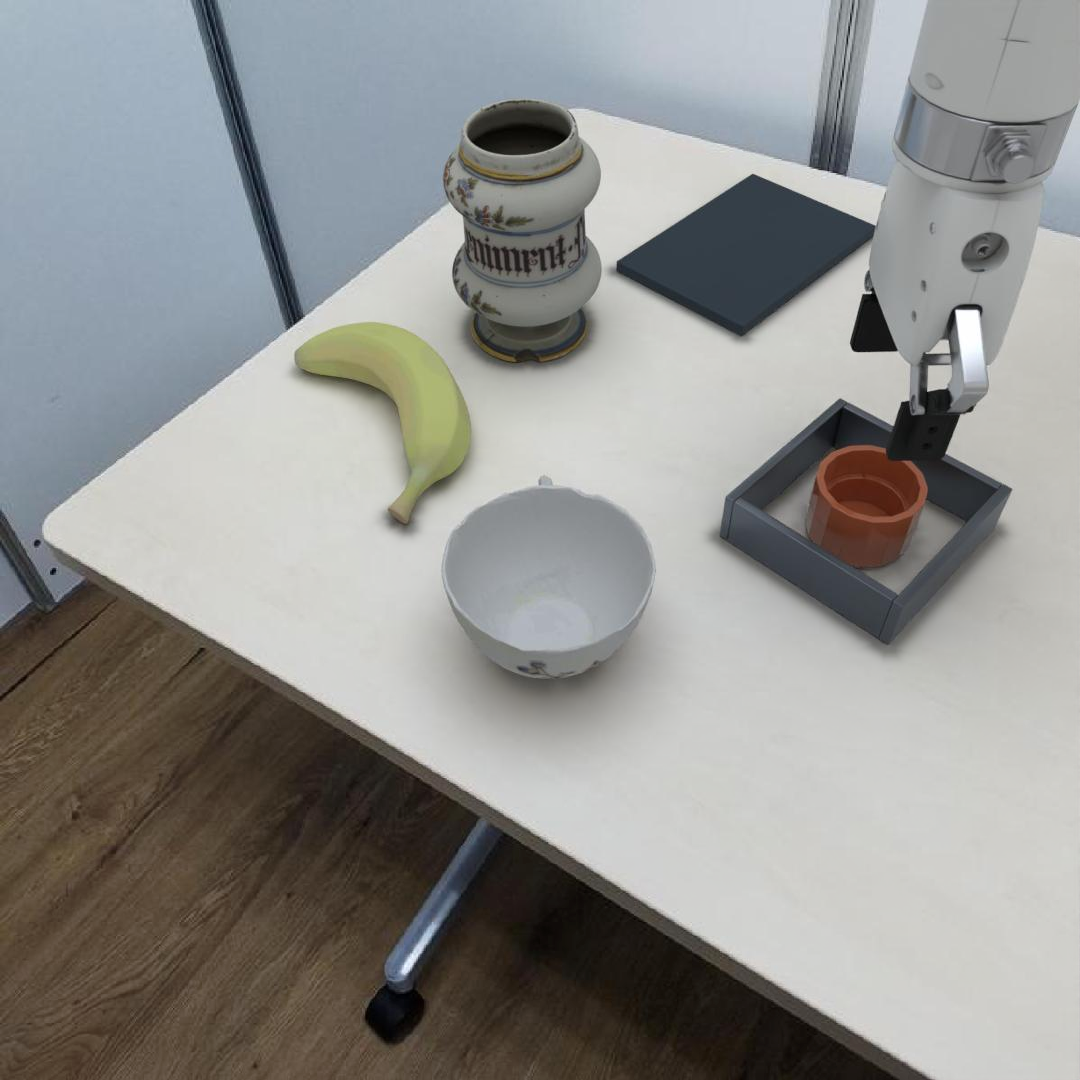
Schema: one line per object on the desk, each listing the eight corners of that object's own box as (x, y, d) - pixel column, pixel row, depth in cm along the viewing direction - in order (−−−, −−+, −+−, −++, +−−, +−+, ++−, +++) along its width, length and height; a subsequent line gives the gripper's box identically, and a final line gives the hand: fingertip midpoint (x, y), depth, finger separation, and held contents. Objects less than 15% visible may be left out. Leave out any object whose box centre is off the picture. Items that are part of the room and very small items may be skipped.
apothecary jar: (462, 379, 82) (437, 173, 68) (456, 291, 90) (433, 90, 76) (610, 366, 82) (615, 159, 69) (591, 279, 90) (592, 78, 77)
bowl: (842, 481, 73) (855, 430, 69) (928, 530, 70) (948, 479, 66) (784, 534, 70) (795, 484, 66) (872, 588, 67) (889, 539, 63)
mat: (751, 182, 100) (752, 173, 99) (874, 235, 93) (876, 225, 93) (616, 270, 91) (616, 261, 90) (741, 336, 84) (742, 326, 84)
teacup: (657, 721, 61) (665, 644, 55) (450, 727, 61) (435, 651, 55) (638, 532, 71) (643, 450, 65) (459, 538, 71) (447, 457, 65)
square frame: (829, 437, 76) (840, 397, 73) (994, 528, 70) (1013, 488, 67) (719, 536, 70) (724, 496, 67) (887, 645, 64) (902, 607, 61)
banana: (439, 276, 79) (462, 478, 68) (463, 324, 84) (488, 521, 72) (280, 327, 81) (276, 531, 70) (312, 371, 86) (313, 569, 75)
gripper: (1132, 222, 42) (1000, 504, 55) (1004, 43, 53) (919, 311, 66) (950, 226, 42) (861, 507, 55) (861, 46, 54) (804, 314, 66)
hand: (893, 400), depth 61 cm, fingers open, 9 cm apart
